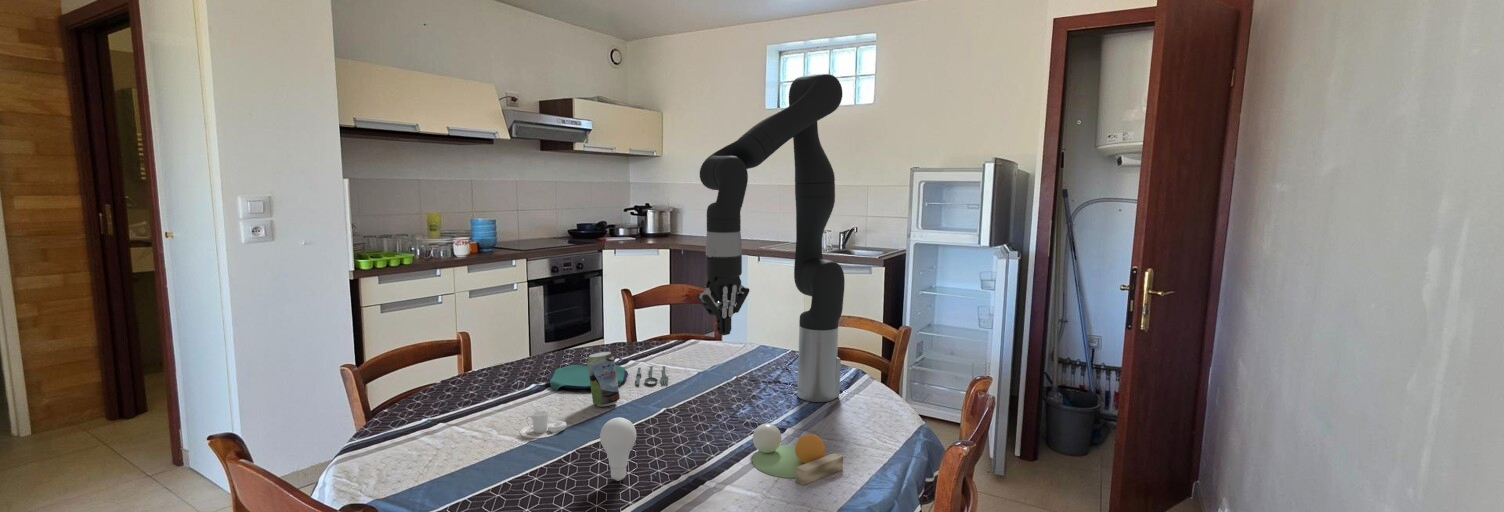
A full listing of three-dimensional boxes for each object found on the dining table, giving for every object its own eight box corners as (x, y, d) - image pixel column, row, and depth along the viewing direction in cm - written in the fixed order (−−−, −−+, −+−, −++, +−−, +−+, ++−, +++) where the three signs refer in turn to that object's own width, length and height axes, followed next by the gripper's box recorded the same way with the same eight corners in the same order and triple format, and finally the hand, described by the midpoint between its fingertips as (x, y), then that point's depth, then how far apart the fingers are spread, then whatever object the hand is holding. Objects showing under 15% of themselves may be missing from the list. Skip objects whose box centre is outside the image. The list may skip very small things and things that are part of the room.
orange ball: (822, 462, 128) (810, 434, 130) (835, 454, 123) (822, 426, 125) (798, 472, 125) (785, 444, 127) (810, 465, 120) (797, 435, 123)
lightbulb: (602, 472, 120) (602, 412, 119) (637, 472, 120) (637, 412, 119) (598, 488, 114) (597, 425, 113) (634, 487, 114) (634, 424, 113)
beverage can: (613, 410, 151) (613, 357, 150) (582, 407, 153) (582, 355, 151) (624, 401, 157) (624, 350, 156) (594, 398, 159) (594, 348, 157)
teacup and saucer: (572, 429, 141) (571, 410, 140) (548, 443, 133) (548, 423, 133) (536, 423, 144) (536, 404, 143) (511, 437, 136) (511, 417, 136)
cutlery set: (553, 371, 181) (553, 363, 181) (667, 369, 185) (667, 361, 185) (541, 396, 162) (541, 386, 161) (669, 392, 166) (669, 383, 166)
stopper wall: (834, 465, 125) (834, 452, 124) (842, 469, 123) (843, 456, 123) (795, 481, 118) (795, 467, 118) (803, 485, 117) (804, 471, 116)
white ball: (784, 451, 132) (765, 433, 135) (789, 431, 129) (769, 413, 132) (764, 463, 128) (744, 445, 131) (769, 443, 125) (749, 425, 128)
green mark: (803, 441, 136) (803, 440, 136) (842, 469, 123) (842, 468, 123) (739, 453, 129) (739, 452, 129) (774, 483, 117) (774, 482, 117)
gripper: (735, 248, 149) (735, 326, 151) (687, 253, 140) (688, 336, 142) (759, 251, 143) (759, 332, 145) (710, 257, 134) (711, 343, 137)
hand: (724, 334), depth 144 cm, fingers closed
